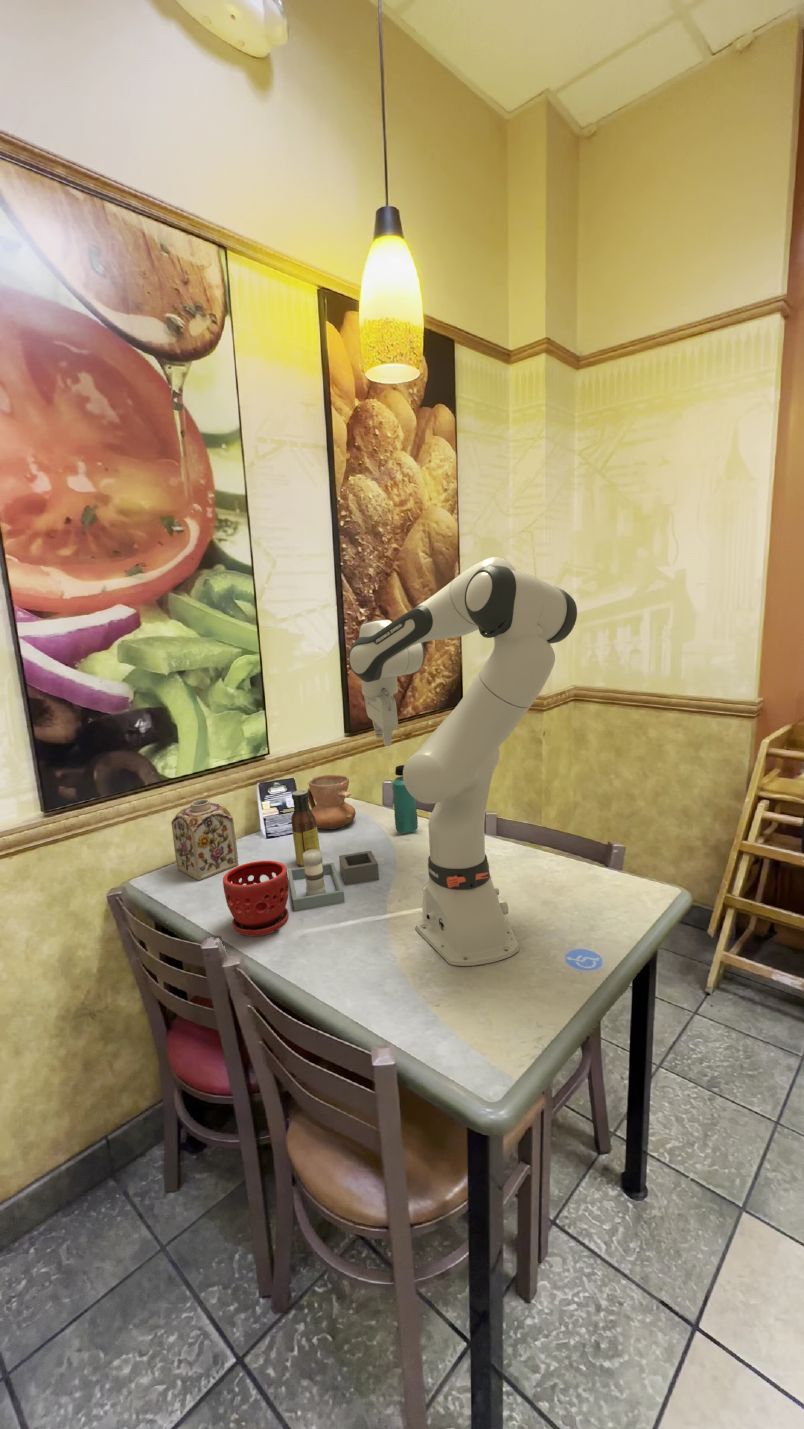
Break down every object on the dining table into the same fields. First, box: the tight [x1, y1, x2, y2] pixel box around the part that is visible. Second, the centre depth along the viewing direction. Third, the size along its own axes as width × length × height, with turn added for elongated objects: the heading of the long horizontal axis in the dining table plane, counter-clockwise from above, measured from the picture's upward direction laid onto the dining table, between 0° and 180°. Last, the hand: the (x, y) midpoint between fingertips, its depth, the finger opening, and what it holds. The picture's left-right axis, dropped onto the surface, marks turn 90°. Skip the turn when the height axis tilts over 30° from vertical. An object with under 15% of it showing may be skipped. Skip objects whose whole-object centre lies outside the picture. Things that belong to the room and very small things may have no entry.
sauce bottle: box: [290, 789, 321, 868], centre depth 154 cm, size 6×6×20 cm
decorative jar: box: [170, 798, 239, 881], centre depth 157 cm, size 12×12×18 cm
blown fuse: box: [303, 849, 327, 896], centre depth 138 cm, size 4×4×10 cm
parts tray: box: [287, 862, 346, 912], centre depth 140 cm, size 16×11×4 cm
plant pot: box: [222, 860, 290, 937], centre depth 127 cm, size 13×13×12 cm
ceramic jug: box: [306, 774, 357, 830], centre depth 183 cm, size 18×14×14 cm
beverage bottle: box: [392, 764, 419, 834], centre depth 171 cm, size 6×7×20 cm
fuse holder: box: [338, 850, 380, 886], centre depth 146 cm, size 8×8×5 cm
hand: (383, 741), depth 152 cm, fingers open, 8 cm apart
